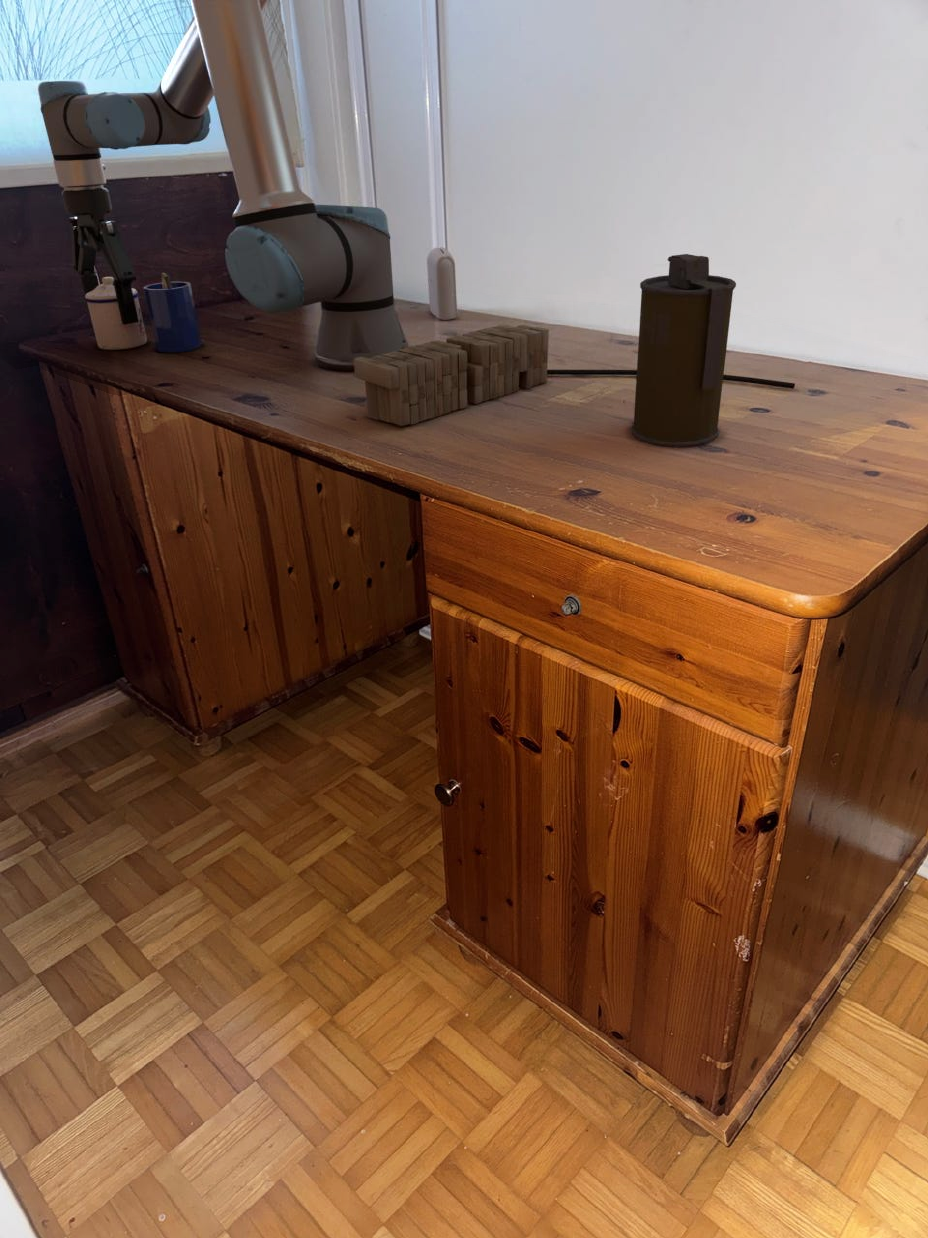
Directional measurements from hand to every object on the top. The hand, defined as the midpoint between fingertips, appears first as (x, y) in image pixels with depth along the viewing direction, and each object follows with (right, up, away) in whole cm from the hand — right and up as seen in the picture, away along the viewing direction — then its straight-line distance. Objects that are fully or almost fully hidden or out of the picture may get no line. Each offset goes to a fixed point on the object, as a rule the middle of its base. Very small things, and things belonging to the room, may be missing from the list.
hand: (113, 317), depth 158 cm
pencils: (+13, -6, -2) cm, 14 cm away
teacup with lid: (0, -4, +2) cm, 5 cm away
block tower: (+63, -24, -37) cm, 77 cm away
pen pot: (+13, -6, -2) cm, 14 cm away
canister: (+89, -32, -52) cm, 109 cm away
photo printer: (+60, +5, +13) cm, 61 cm away
